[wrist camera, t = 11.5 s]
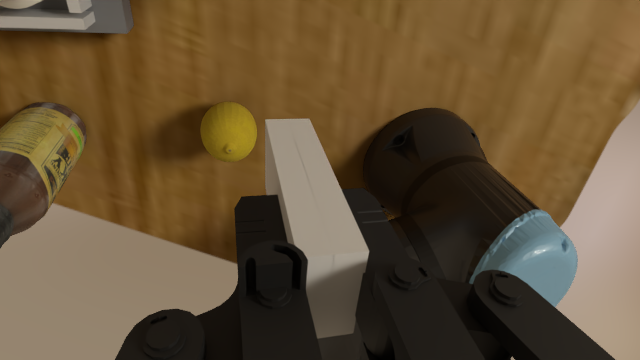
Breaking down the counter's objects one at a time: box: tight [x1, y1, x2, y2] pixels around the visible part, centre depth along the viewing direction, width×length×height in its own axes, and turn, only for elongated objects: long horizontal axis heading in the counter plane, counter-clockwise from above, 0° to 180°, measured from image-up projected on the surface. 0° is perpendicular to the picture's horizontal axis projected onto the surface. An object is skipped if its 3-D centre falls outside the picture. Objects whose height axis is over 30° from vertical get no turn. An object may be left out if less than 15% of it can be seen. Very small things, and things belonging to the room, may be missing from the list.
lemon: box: [200, 102, 257, 162], centre depth 39 cm, size 6×6×8 cm
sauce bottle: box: [0, 102, 86, 248], centre depth 31 cm, size 6×6×20 cm
